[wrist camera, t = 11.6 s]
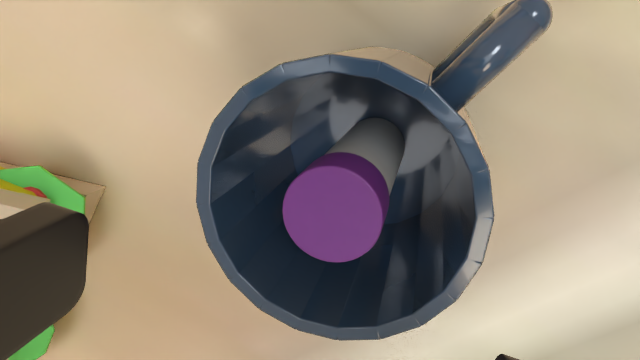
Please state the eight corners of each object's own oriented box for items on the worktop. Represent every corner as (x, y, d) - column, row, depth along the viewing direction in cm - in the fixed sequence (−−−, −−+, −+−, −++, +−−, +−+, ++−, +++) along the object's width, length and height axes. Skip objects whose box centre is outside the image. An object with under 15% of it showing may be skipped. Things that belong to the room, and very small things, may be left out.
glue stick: (337, 167, 23) (273, 245, 14) (352, 108, 22) (292, 153, 13) (397, 184, 23) (368, 276, 14) (414, 124, 22) (395, 182, 13)
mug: (373, 261, 25) (338, 386, 16) (251, 141, 24) (145, 201, 16) (581, 88, 20) (694, 129, 11) (433, -64, 20) (430, -143, 11)
